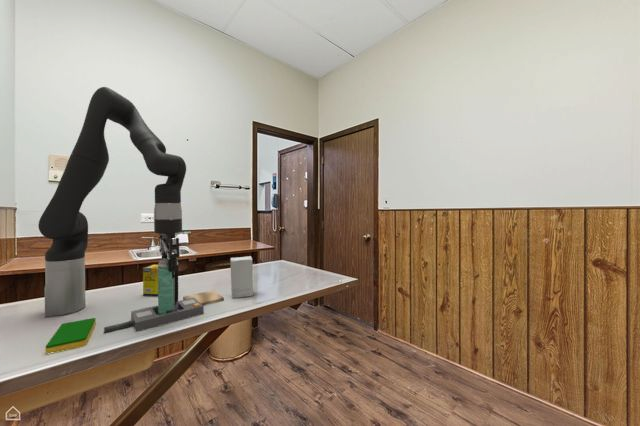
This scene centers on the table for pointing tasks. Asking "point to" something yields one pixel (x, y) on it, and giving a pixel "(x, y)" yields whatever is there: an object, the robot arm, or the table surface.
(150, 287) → the supplement box
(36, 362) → the table surface
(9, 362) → the table surface
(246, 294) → the skincare box
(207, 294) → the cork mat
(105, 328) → the power strip
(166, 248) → the robot arm
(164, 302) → the spray can
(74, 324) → the dish sponge
